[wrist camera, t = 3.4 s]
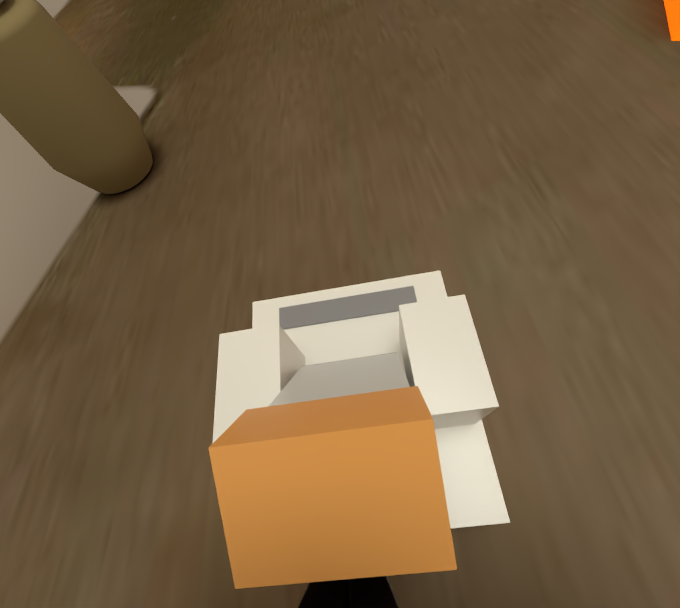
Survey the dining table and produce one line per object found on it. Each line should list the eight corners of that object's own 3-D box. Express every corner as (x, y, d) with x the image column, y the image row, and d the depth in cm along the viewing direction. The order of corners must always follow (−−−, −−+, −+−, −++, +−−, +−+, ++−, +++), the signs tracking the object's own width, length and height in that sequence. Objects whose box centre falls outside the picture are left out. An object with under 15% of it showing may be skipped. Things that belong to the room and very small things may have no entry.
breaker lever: (406, 401, 15) (457, 569, 6) (312, 413, 16) (235, 589, 7) (396, 338, 15) (432, 419, 6) (302, 352, 15) (208, 448, 7)
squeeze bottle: (75, 214, 30) (-281, -72, 15) (92, 152, 34) (-176, -129, 18) (161, 193, 30) (-113, -129, 14) (169, 133, 34) (-40, -175, 18)
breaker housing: (486, 512, 16) (551, 540, 9) (280, 533, 17) (194, 573, 10) (433, 304, 21) (449, 218, 14) (276, 330, 22) (218, 261, 15)
